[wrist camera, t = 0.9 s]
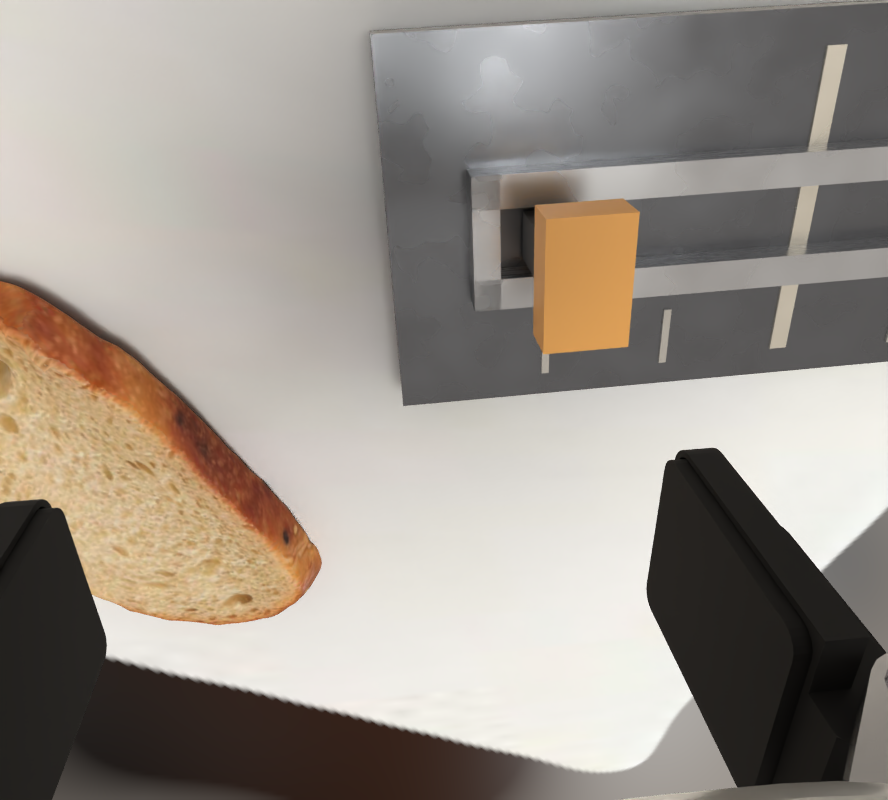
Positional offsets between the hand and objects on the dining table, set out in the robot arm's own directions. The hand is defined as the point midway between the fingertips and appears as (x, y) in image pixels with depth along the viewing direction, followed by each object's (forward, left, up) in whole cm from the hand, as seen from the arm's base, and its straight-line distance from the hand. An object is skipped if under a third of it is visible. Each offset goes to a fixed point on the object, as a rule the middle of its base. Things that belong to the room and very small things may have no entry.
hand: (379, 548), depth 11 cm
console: (-14, +1, -20) cm, 24 cm away
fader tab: (-7, +1, -17) cm, 19 cm away
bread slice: (+12, +11, -20) cm, 26 cm away
